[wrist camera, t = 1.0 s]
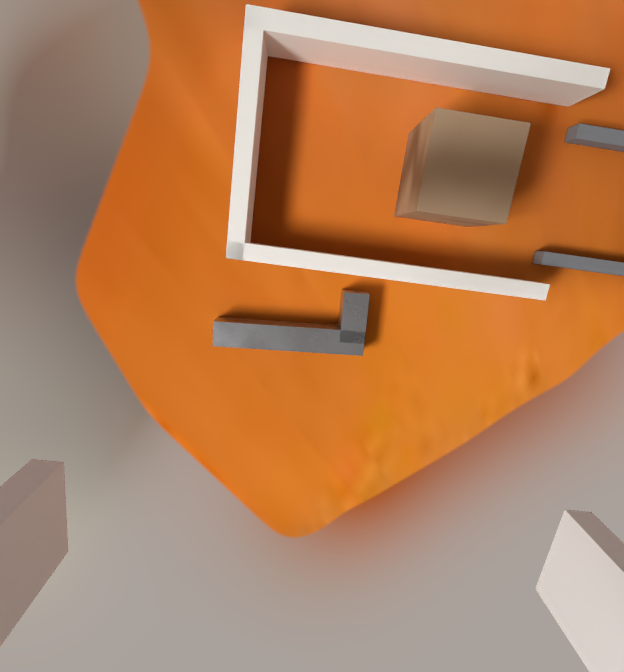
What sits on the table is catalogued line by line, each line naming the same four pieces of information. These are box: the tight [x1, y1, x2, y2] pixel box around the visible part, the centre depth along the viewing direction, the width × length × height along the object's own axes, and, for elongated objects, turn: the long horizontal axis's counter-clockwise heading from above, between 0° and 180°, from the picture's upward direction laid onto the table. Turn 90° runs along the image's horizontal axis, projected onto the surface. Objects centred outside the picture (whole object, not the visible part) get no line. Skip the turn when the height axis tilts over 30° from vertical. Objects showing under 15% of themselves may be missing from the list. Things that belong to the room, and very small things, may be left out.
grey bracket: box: [532, 123, 624, 276], centre depth 30 cm, size 10×9×1 cm
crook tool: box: [213, 289, 370, 356], centre depth 31 cm, size 5×12×2 cm, turn 86°
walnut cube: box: [394, 107, 531, 227], centre depth 27 cm, size 6×6×6 cm
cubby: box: [226, 4, 610, 300], centre depth 28 cm, size 15×24×4 cm, turn 82°
